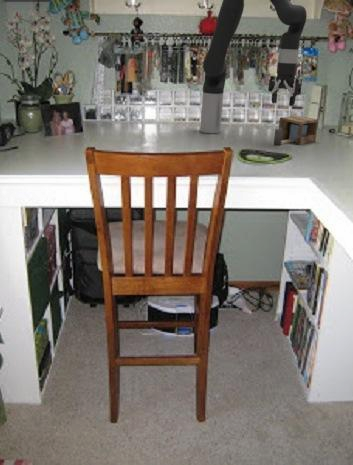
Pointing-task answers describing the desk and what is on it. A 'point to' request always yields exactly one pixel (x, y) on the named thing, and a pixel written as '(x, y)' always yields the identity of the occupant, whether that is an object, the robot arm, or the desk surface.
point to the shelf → (299, 128)
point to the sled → (292, 134)
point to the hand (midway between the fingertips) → (282, 104)
